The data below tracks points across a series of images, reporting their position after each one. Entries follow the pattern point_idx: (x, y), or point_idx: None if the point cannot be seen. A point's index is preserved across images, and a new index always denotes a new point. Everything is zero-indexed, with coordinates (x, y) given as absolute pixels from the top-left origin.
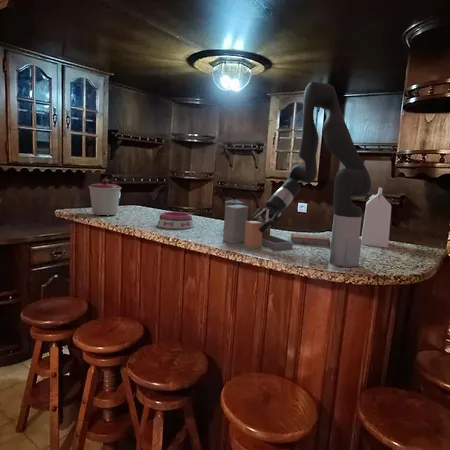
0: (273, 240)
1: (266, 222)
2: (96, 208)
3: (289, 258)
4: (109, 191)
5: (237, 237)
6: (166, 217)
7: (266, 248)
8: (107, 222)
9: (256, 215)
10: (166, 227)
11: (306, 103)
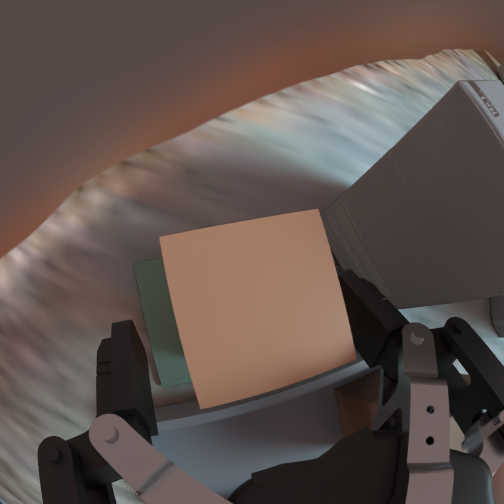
0: None
1: (99, 418)
2: (502, 64)
3: (2, 397)
4: None
5: (343, 239)
6: None
7: (166, 380)
8: (467, 55)
9: (434, 374)
10: None
11: None
